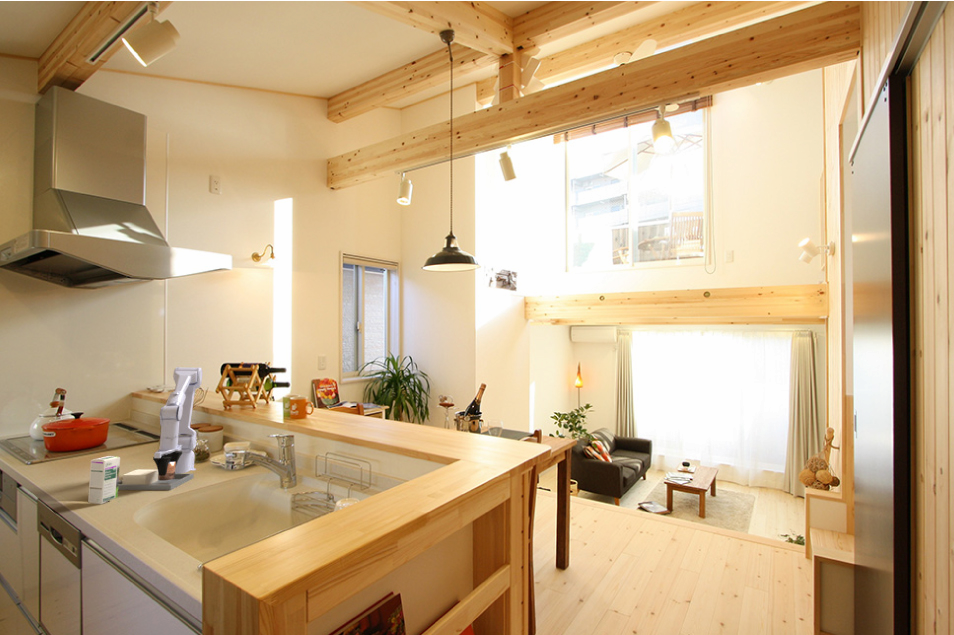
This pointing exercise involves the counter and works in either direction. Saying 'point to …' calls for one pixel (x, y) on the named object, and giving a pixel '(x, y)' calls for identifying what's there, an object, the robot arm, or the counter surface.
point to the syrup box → (104, 479)
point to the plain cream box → (140, 477)
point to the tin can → (169, 472)
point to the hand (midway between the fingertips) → (166, 473)
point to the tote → (158, 483)
